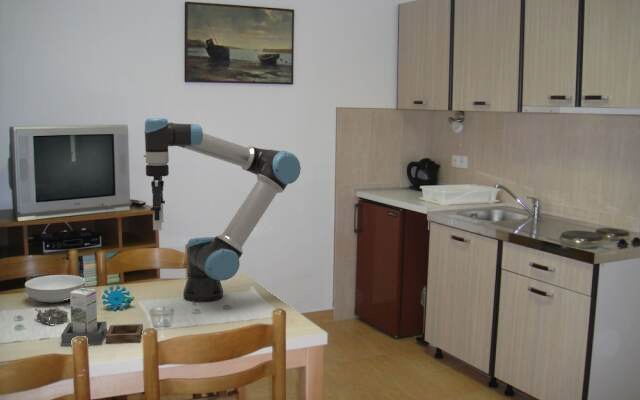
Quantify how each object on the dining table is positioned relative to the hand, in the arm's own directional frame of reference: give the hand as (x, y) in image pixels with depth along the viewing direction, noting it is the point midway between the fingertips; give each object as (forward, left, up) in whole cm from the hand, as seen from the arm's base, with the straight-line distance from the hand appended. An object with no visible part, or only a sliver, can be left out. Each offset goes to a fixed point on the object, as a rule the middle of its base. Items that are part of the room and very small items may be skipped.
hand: (158, 226), depth 226 cm
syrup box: (+21, +23, -31) cm, 43 cm away
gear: (+15, -9, -32) cm, 36 cm away
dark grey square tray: (+21, +23, -31) cm, 44 cm away
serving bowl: (+39, -22, -32) cm, 55 cm away
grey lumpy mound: (+35, +3, -32) cm, 47 cm away
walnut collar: (+9, +23, -31) cm, 40 cm away
